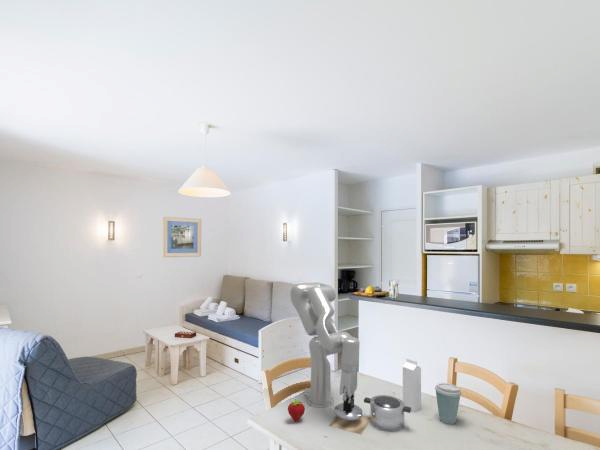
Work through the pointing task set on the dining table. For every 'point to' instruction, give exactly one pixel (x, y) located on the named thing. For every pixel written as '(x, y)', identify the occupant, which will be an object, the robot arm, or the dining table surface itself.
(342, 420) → the trivet
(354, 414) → the lid
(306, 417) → the dining table surface
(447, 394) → the disposable coffee cup
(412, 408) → the milk
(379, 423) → the pot
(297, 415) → the strawberry
